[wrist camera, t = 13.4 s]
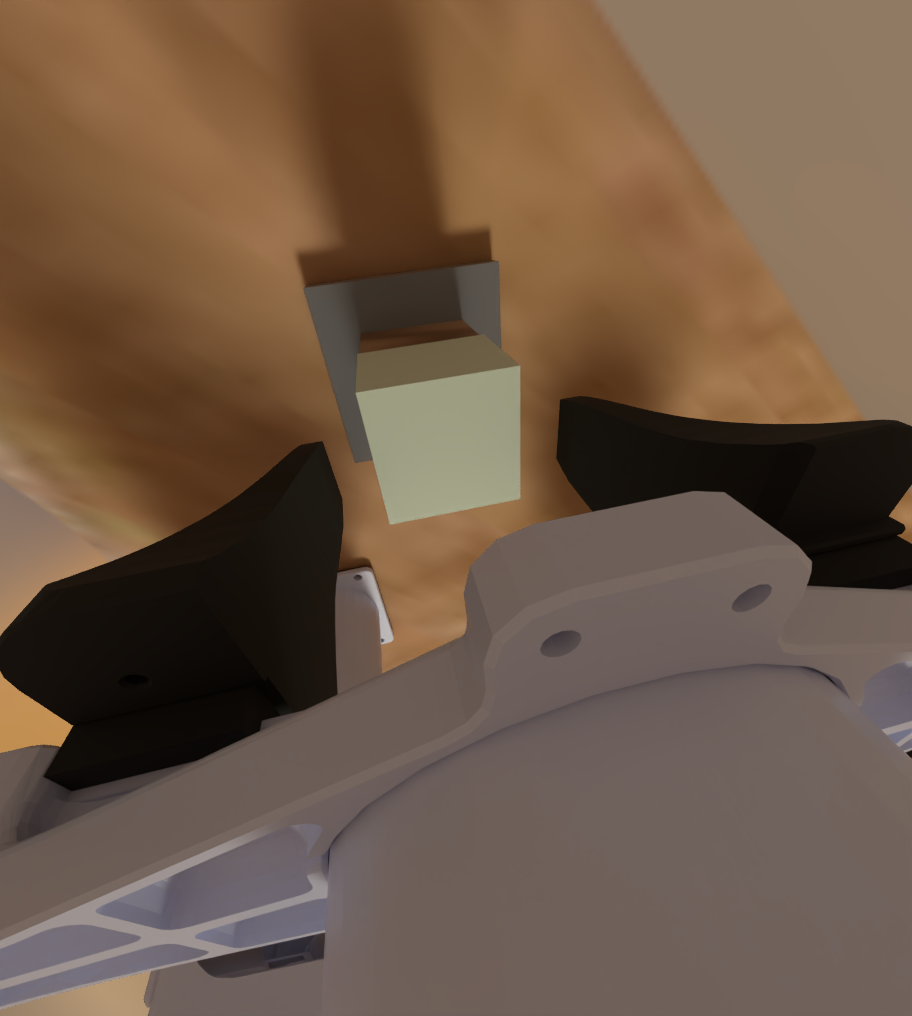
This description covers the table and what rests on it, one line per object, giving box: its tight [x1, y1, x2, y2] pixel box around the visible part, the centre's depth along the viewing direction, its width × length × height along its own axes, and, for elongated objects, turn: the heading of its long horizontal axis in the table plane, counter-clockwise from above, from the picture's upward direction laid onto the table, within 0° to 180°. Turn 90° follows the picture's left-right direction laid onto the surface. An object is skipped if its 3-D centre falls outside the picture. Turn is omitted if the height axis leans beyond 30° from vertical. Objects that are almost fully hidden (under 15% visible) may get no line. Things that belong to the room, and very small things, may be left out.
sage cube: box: [356, 334, 520, 525], centre depth 13 cm, size 4×4×4 cm
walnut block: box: [360, 320, 479, 353], centre depth 17 cm, size 4×4×4 cm
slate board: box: [304, 260, 501, 463], centre depth 18 cm, size 8×8×1 cm
